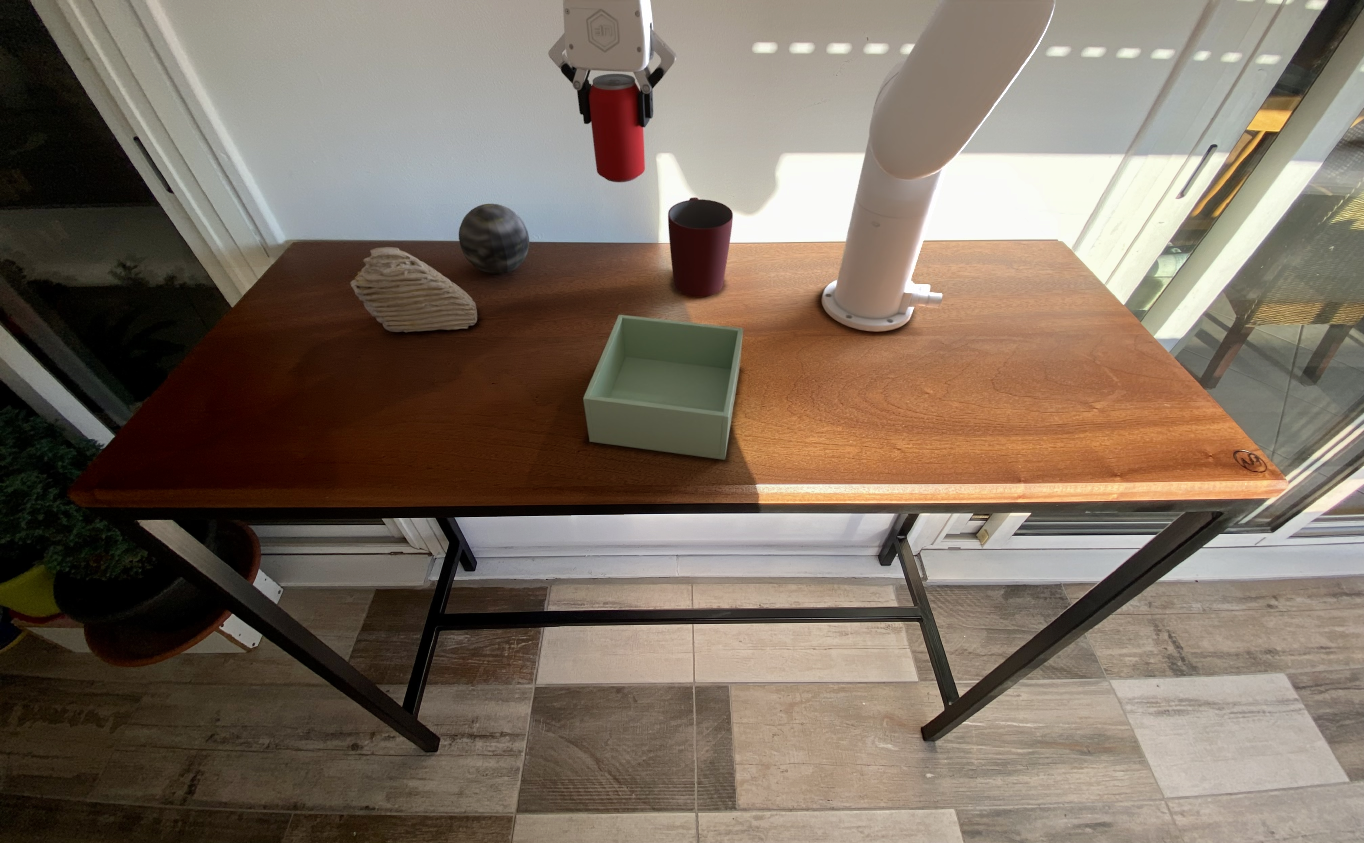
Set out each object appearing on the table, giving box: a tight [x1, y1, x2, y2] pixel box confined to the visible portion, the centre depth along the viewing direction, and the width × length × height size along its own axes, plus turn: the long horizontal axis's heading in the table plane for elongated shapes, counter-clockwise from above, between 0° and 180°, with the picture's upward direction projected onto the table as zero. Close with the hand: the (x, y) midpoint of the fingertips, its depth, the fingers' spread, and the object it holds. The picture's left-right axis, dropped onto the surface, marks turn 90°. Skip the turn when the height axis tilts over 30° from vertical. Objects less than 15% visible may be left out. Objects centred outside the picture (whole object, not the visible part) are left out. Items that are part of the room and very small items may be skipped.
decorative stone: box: [458, 203, 530, 275], centre depth 88 cm, size 10×10×10 cm
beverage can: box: [589, 73, 646, 183], centre depth 79 cm, size 7×7×12 cm
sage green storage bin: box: [582, 314, 744, 461], centre depth 68 cm, size 15×15×7 cm
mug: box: [667, 197, 734, 298], centre depth 86 cm, size 12×9×11 cm
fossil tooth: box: [349, 246, 478, 333], centre depth 78 cm, size 12×6×15 cm
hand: (617, 121), depth 78 cm, fingers closed on beverage can, 6 cm apart
